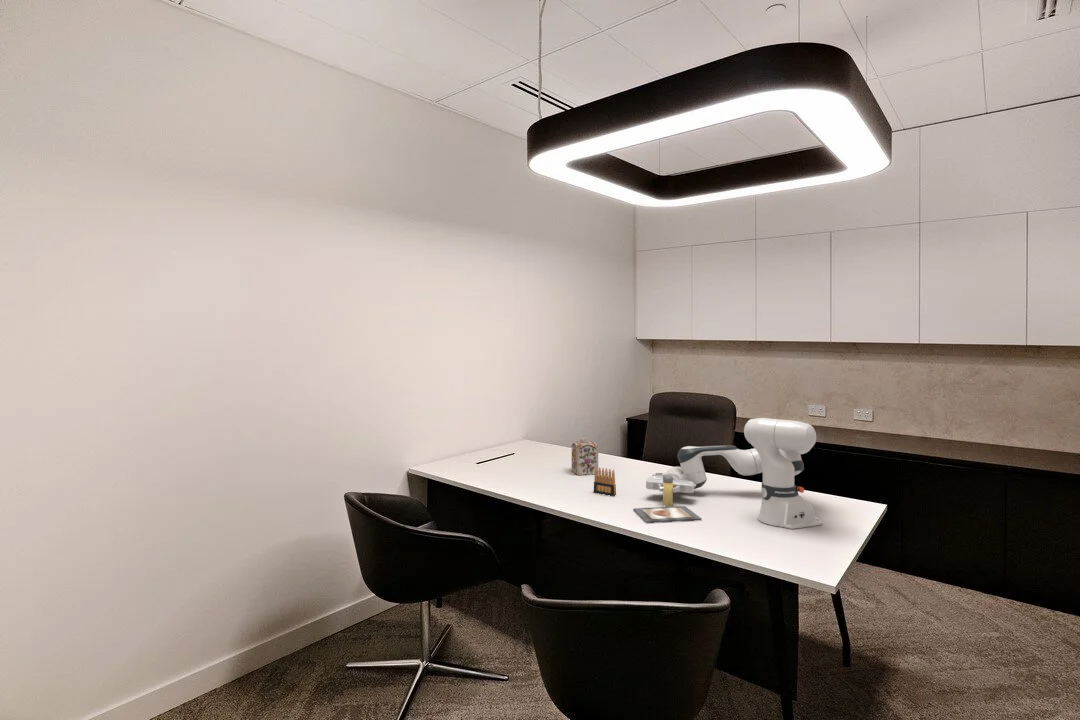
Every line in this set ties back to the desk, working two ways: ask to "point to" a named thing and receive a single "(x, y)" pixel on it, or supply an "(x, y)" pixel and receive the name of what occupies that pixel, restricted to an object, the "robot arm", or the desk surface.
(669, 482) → the marker
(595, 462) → the decorative jar
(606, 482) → the ammunition clip
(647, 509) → the grey metal tray
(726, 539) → the desk surface
